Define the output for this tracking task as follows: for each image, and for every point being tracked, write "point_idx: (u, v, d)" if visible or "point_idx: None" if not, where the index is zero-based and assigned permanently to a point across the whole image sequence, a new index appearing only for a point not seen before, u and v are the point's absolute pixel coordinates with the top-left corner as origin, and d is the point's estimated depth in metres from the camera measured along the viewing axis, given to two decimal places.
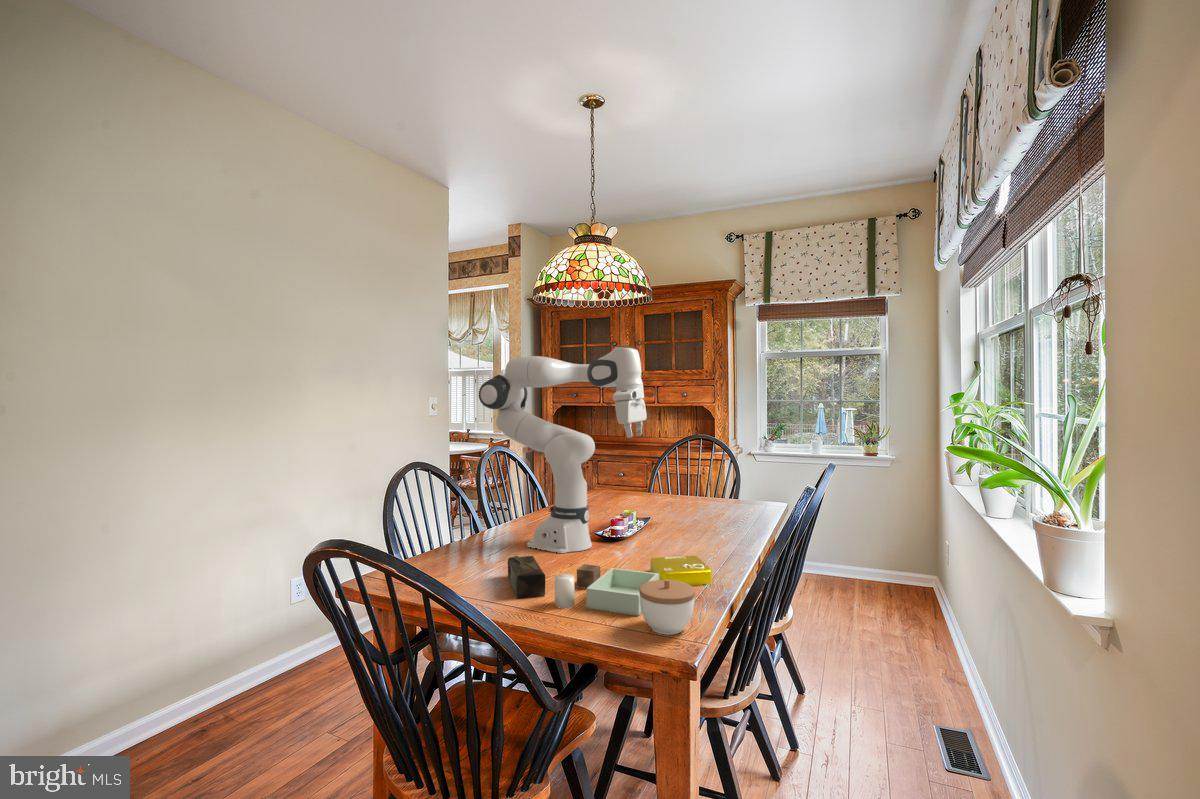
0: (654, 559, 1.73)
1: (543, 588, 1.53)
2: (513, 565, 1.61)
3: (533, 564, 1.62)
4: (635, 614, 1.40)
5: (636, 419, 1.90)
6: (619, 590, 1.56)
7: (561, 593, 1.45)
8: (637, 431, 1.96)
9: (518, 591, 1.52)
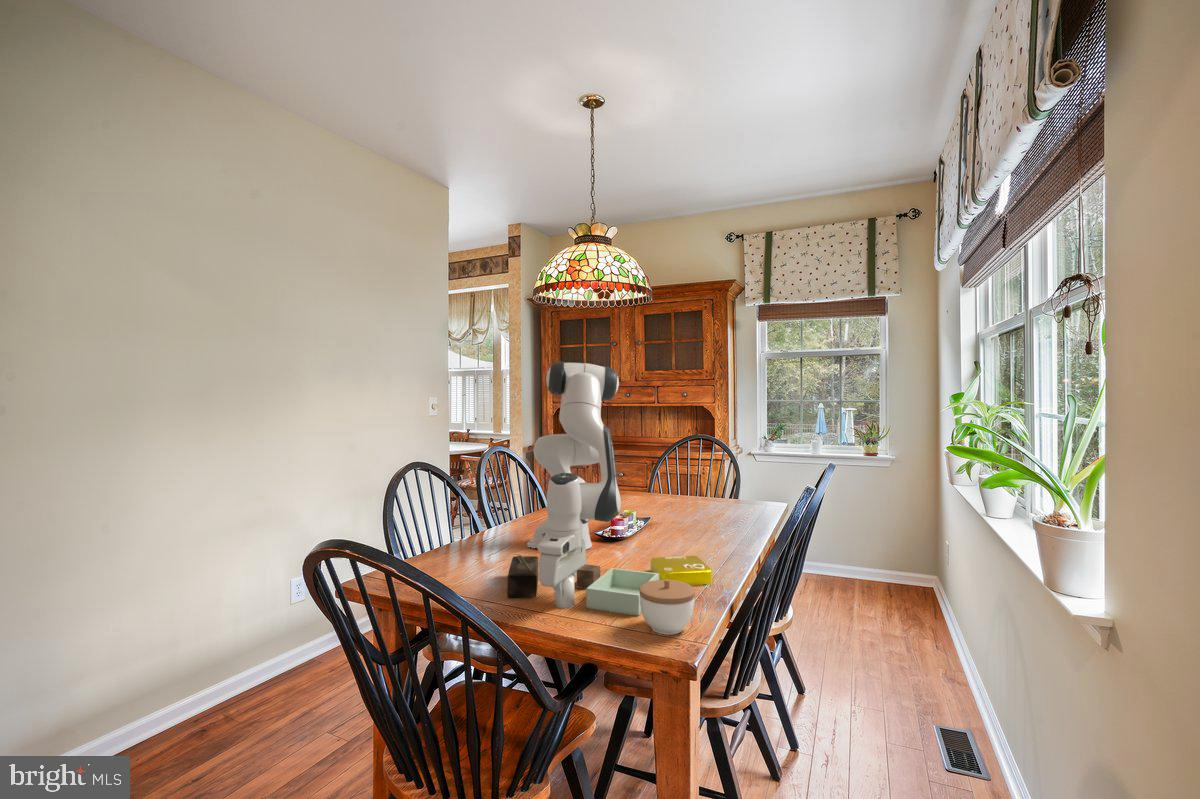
0: (654, 559, 1.73)
1: (534, 589, 1.52)
2: (511, 564, 1.62)
3: (532, 564, 1.62)
4: (635, 614, 1.40)
5: (568, 574, 1.45)
6: (619, 590, 1.56)
7: None
8: None
9: (509, 591, 1.52)
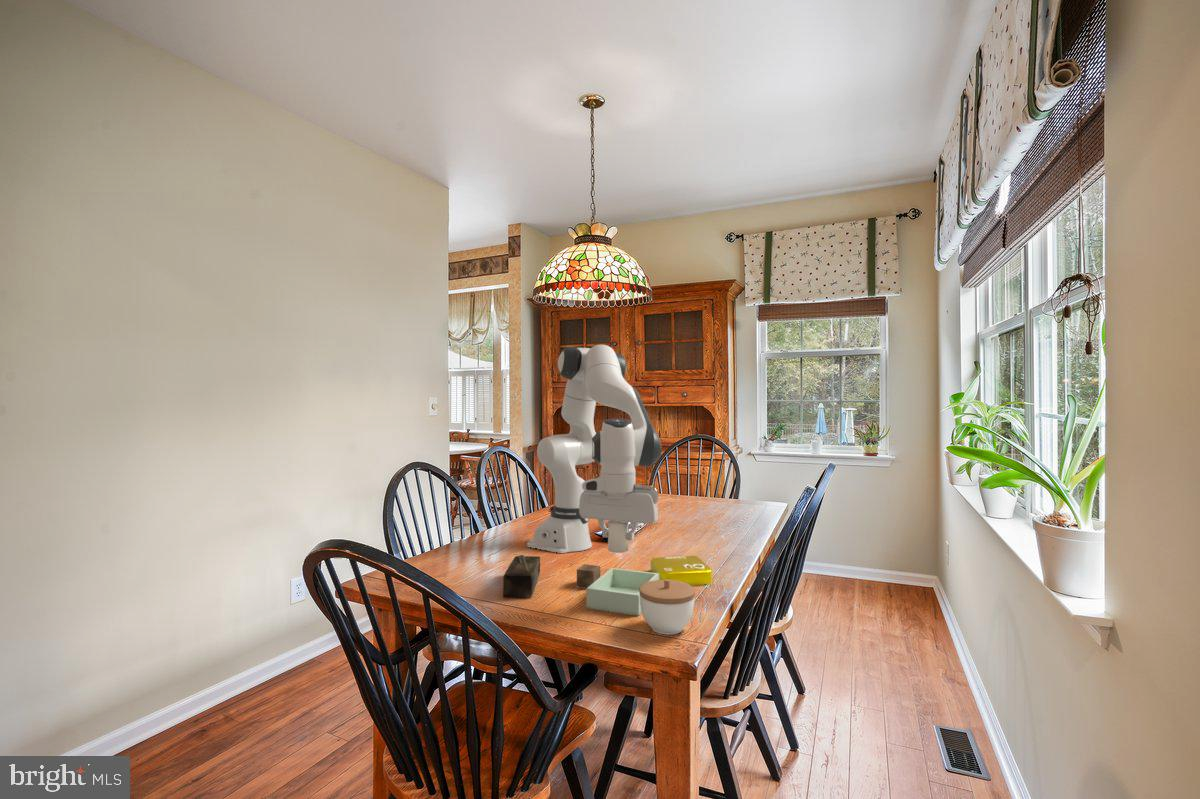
0: (654, 559, 1.73)
1: (529, 590, 1.52)
2: (511, 564, 1.62)
3: (531, 565, 1.62)
4: (635, 614, 1.40)
5: (609, 517, 1.45)
6: (619, 590, 1.56)
7: None
8: None
9: (504, 590, 1.52)
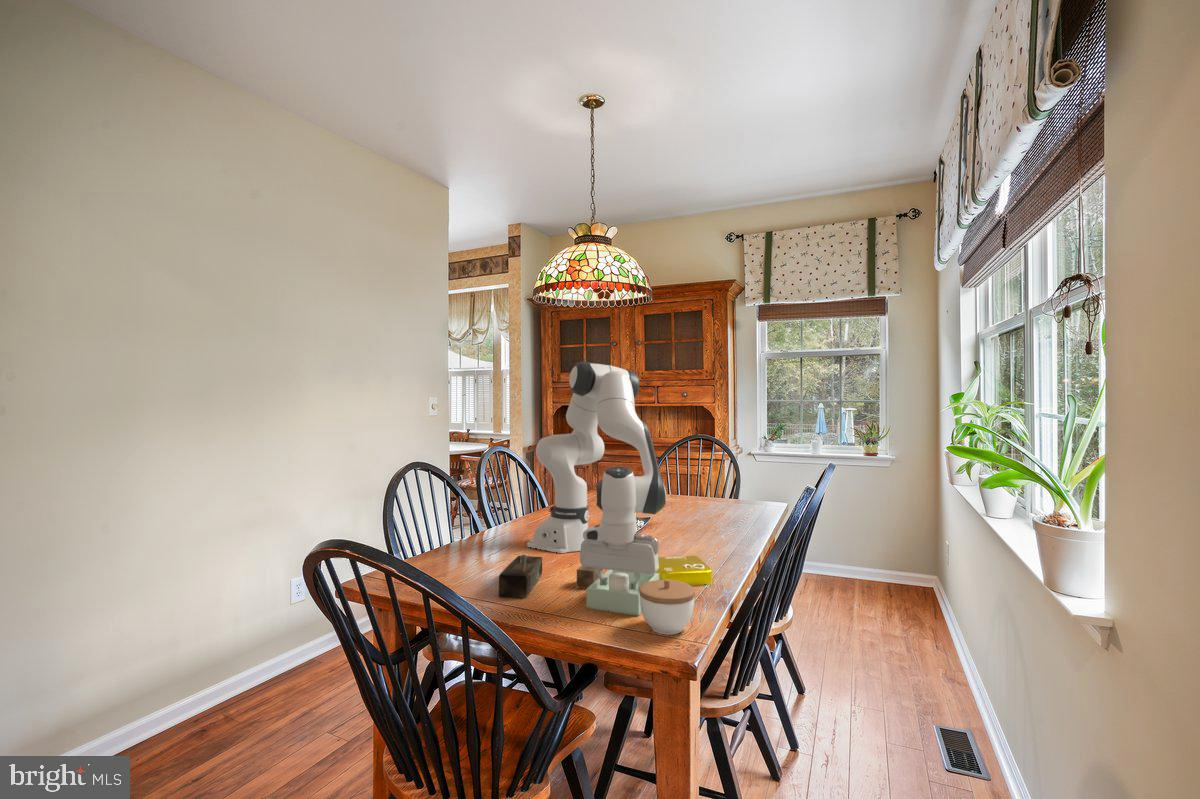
0: None
1: (524, 590, 1.52)
2: (510, 563, 1.62)
3: (530, 565, 1.62)
4: (635, 614, 1.40)
5: (609, 566, 1.46)
6: None
7: None
8: None
9: (500, 590, 1.53)
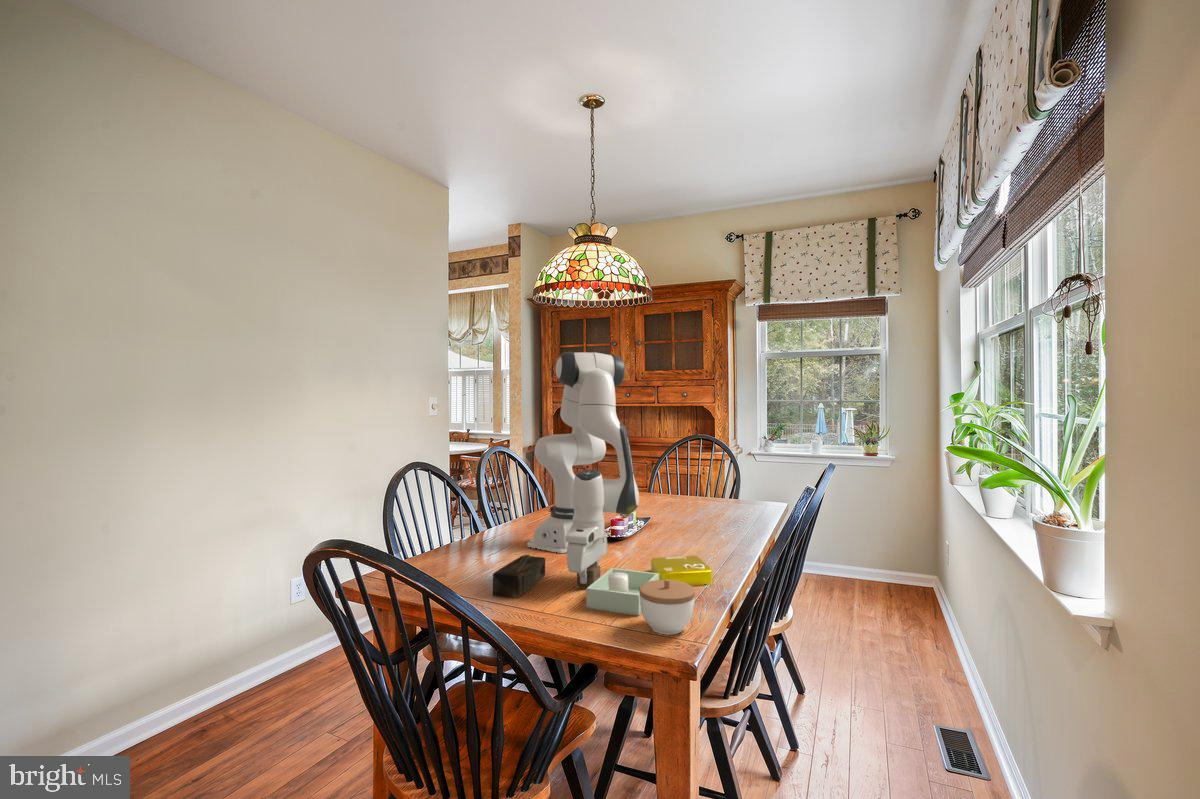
0: (655, 559, 1.73)
1: (516, 590, 1.52)
2: (510, 563, 1.63)
3: (528, 565, 1.61)
4: (635, 614, 1.40)
5: (592, 562, 1.60)
6: None
7: None
8: None
9: (493, 588, 1.54)
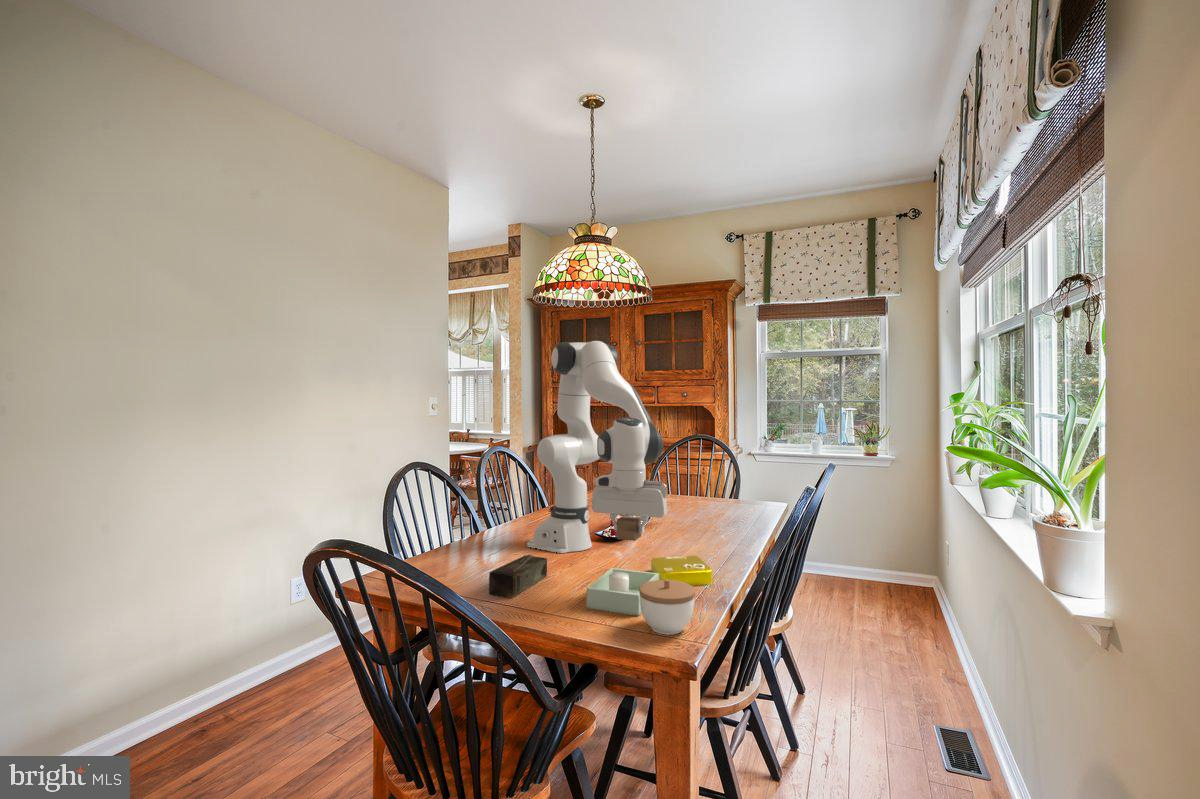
0: (655, 559, 1.73)
1: (510, 590, 1.52)
2: (510, 562, 1.64)
3: (527, 565, 1.61)
4: (635, 614, 1.40)
5: (620, 511, 1.53)
6: None
7: None
8: None
9: (489, 587, 1.55)
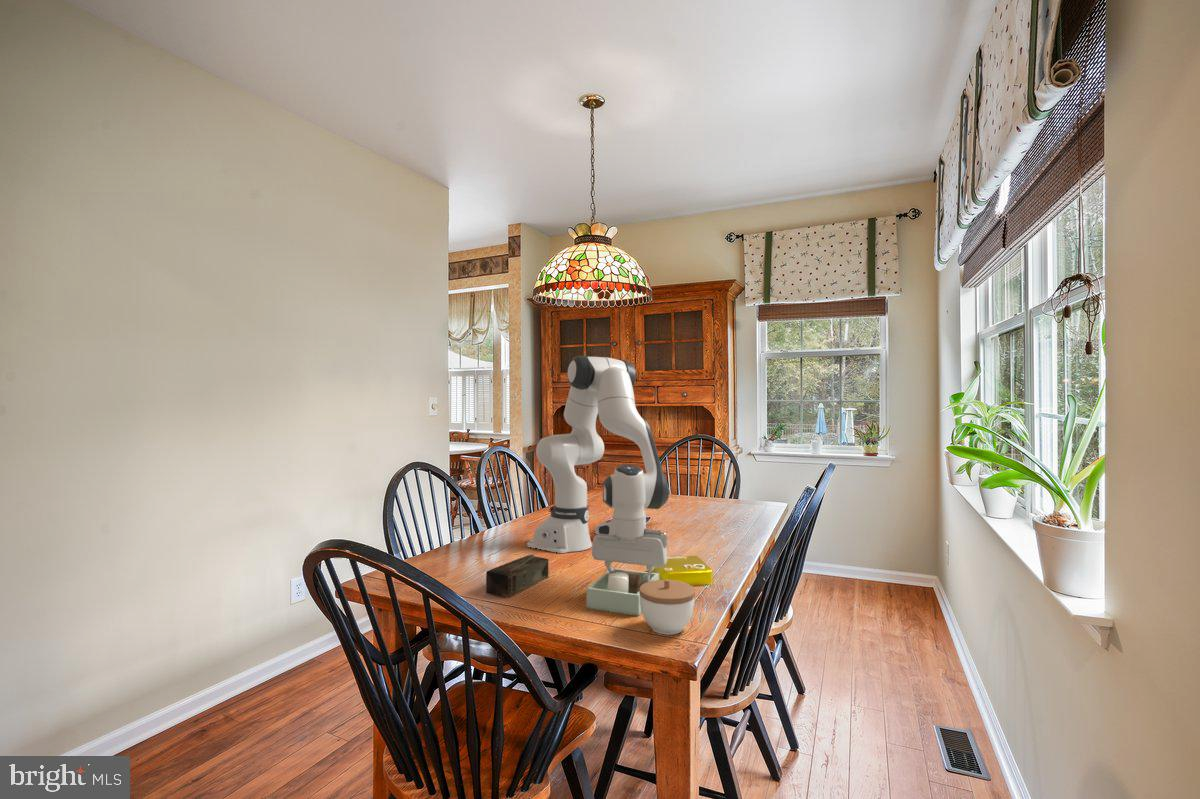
0: None
1: (505, 589, 1.52)
2: (510, 562, 1.64)
3: (526, 565, 1.61)
4: (635, 614, 1.40)
5: (620, 560, 1.53)
6: None
7: None
8: None
9: (486, 586, 1.56)
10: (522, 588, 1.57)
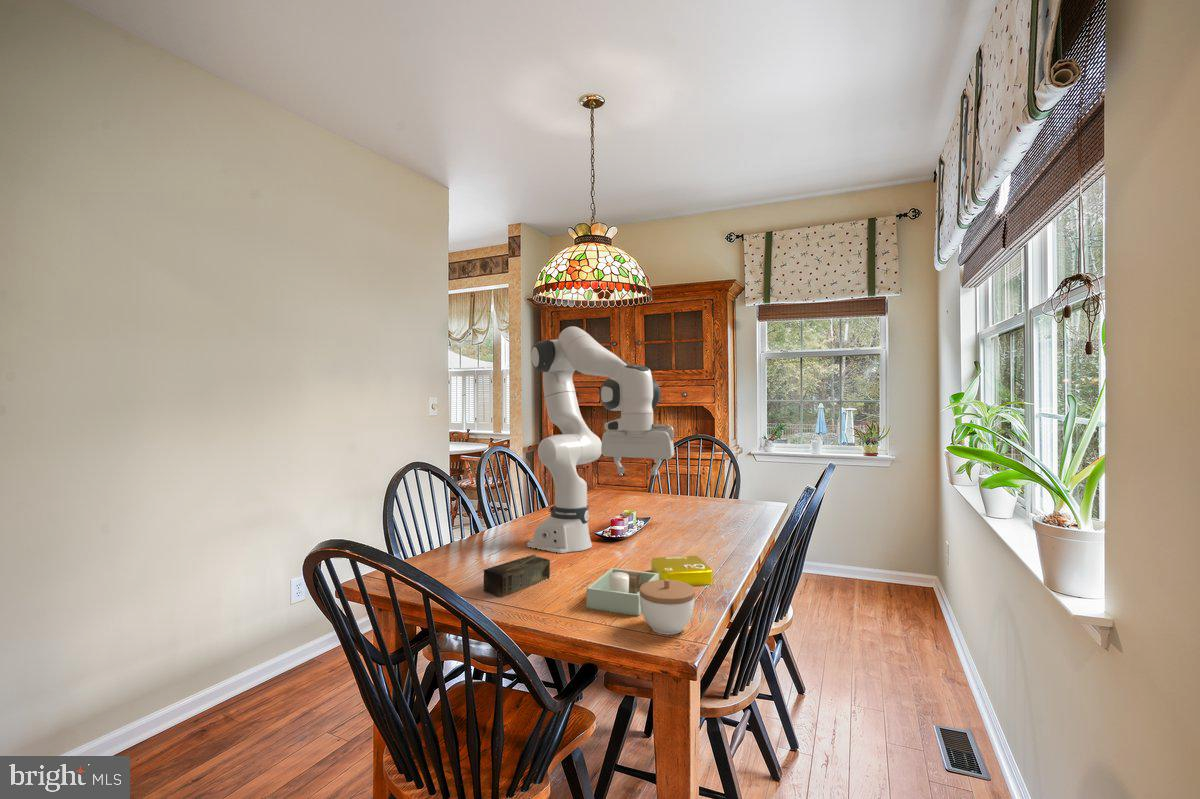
0: (655, 559, 1.73)
1: (500, 589, 1.53)
2: (510, 561, 1.65)
3: (524, 565, 1.61)
4: (635, 614, 1.40)
5: (629, 454, 1.59)
6: None
7: (609, 588, 1.46)
8: None
9: (484, 584, 1.57)
10: (519, 588, 1.58)
